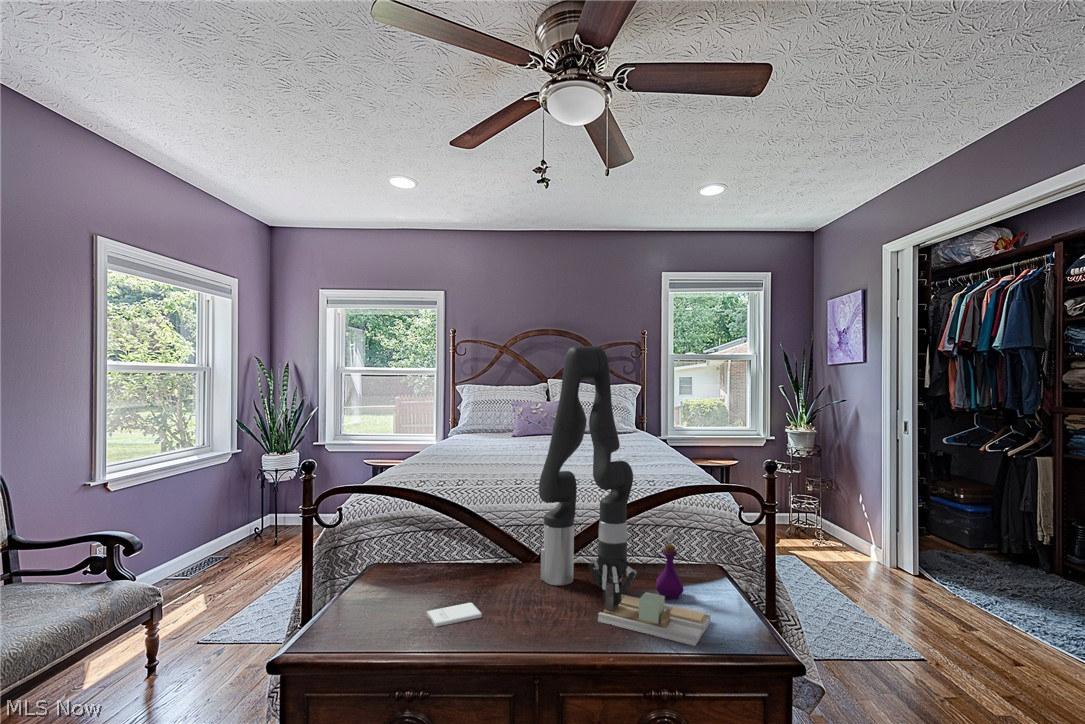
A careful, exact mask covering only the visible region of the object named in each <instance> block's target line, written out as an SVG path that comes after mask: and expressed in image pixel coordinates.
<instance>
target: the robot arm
mask: <svg viewBox="0 0 1085 724" xmlns="http://www.w3.org/2000/svg"><path fill="white" fill-rule="evenodd" d="M608 360H609V359H608V356H607V353H606V351H605V349H603V348H602V347H601V346H597V345H595V346H594V345H587V346H585V345H584V346H573V347H571V348H569V349H568V351H567V353H566V354H565V358H564V363H563V369H562V370H563V371H562V381H561V389H560V394H559V400H558V406H557V411H556V414H555V417H554V423H553V427H552V431H551V437H550V442H549V446H548V452H547V456H546V458H545V462H544V465H543V468H542V471H541V474H540V478H539V482H538V493H539V499H541V501H542V502H544V503H547V504H553V503H558V504H557V506H556V507H555V508H553V509H552V510H550V511H547V512H546V513H545V514H544V516H543V547H542V548H541V550H540V580H541V581H543V582H544V583H546V584H548V585H551V586H567V585H570V584H572V583H573V582H574V566H575V565H574V564H575V563H574V557H575V555H574V554H575V553H574V551H575V550H574V548H575V547H574V545H575V541H574V540H575V539H574V538H575V517H576V509H577V507H576V506H577V493H578V490H577V489H578V487H577V480H576V476H575V473H573V472H572V471H569V470H561V469H562V467H563V465H564V464H565V463H566V461H567V460H569V458H570V457H571V456H572V455H573V454H574V453H575V451H577V449H578V448H579V447H580V446H581V444H582V442H583V439H584V437H585V432H586V428H587V422H588V427H589V434H590V437H591V442H592V446H593V455H592V457H593V461H592V462H593V465H592V476H593V480H594V482H595V485H596V486H597V487H598V488H599V489H601V490H603V491H609V490H610V492H609V494H608V495H606V496H605V497H603V498H602V499H601V500H600V501H599V523H598V539H597V540H598V544H597V545H598V548H597V549H598V550H597V551H598V552H597V553H598V557H597V559H596V561H592V562H590V563H589V564H588V565H587V566H588V569H589V571H590V573H591V576H592V578H593V581H594V582H595V585H596V586H597V587H601V589H602V601H603V602H604V604H605V605H606V582H607V581H609V580H610V579H611V578H613V582H614V586H615V592H614V606H618V605H619V604H620V603H621V601H622V592H623V593H624V592H626V591H627V590H628V589H629V588H630V586H631V584H632V583H633V582H634V580H635V578H636V576H637V574H638V570H637V569H635V568H634V569H633V568H632V567H631V566H630V565H629V561H628V537H629V535H628V523H627V513H628V512H627V511H628V509H627V508H628V507H627V505H628V502H629V499H630V495H631V491H632V487H633V483H634V473H633V469H632V467H631V465H630V464H629V462H627V461H625V460H616V461H615V460H614V461H611V460H612V453H615V452H617V451H618V450H619V449H620V440H619V434H618V431H617V427H616V426H617V425H616V421H615V418H614V412H613V402H612V391H611V390H612V389H611V376H610V367H609V366H610V365H609V361H608ZM582 380H592V381H593V385H594V390H595V393H594V401H593V404H592V408H591V410H590V414H589V419H588V421H587V416H586V413H585V410H584V408H583V405H582V403H581V401H580V398H579V390H580V386H581V385H580V384H581V382H582ZM601 572H602V573H601ZM625 572H626V579H625V581H624V583H623V579H624V578H623V575H624V573H625Z"/></svg>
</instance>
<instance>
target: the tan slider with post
mask: <svg viewBox="0 0 1085 724" xmlns="http://www.w3.org/2000/svg"><path fill="white" fill-rule="evenodd" d="M614 592H615V586H614V582H613V578H612V577H611V579H610V580H609V581H607V582H606V604H605V609H604V610H603V613H606V614H610V615H614V616H618V617H622V618H626V619H630V620H634V621H638V622H642V623H647V624H651V625H655V626H659V627H663V628H666V627H667V626H668V624H669V623H670V609H666V611H665V612H664V613H663V614H662V616H661V621H660V622H659V623H654V622H650V621H646V620H641V619H639V610H637V609H633V608H628V607H624V606H620V605H618V606H614Z"/></svg>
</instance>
